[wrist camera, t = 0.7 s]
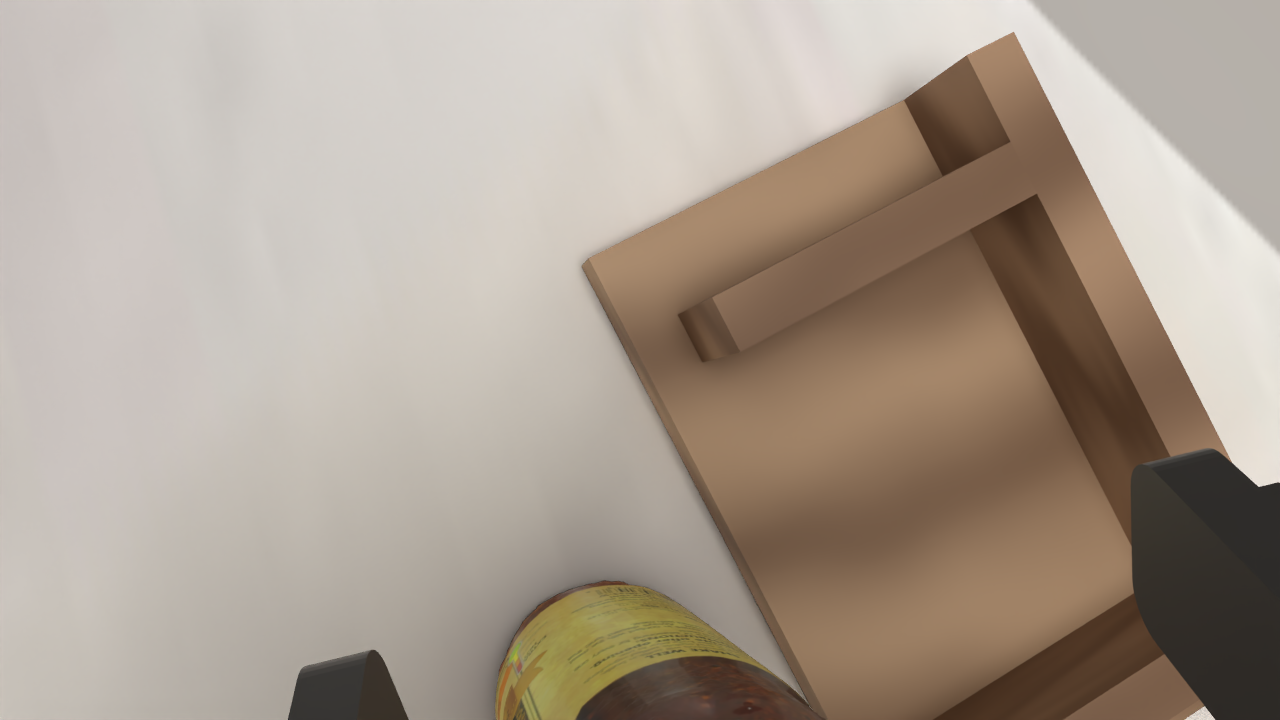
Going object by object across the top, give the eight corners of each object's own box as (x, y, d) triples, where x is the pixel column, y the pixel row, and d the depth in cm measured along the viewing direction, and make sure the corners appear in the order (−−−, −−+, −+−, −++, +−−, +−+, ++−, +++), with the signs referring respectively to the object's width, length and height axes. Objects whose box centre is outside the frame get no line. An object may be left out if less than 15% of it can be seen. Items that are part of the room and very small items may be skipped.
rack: (581, 266, 33) (610, 233, 27) (924, 94, 35) (1013, 31, 30) (897, 874, 33) (987, 959, 28) (1216, 666, 36) (1356, 707, 30)
